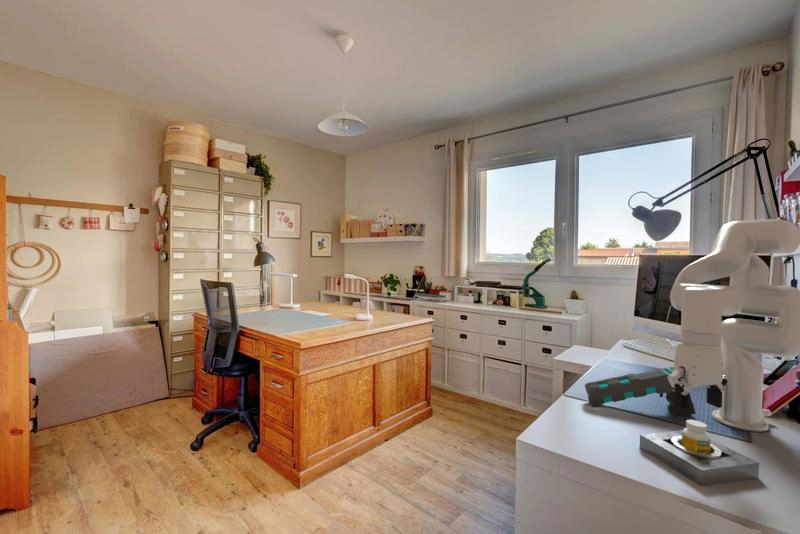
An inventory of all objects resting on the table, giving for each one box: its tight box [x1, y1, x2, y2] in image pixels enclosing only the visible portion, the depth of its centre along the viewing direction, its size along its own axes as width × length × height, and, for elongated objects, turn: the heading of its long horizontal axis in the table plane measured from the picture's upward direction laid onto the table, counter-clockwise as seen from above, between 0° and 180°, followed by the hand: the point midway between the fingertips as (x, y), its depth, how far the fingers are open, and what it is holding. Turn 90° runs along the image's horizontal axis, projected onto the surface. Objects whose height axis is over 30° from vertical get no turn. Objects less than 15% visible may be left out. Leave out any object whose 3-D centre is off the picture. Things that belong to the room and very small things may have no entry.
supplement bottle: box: [682, 419, 711, 454], centre depth 89 cm, size 5×5×10 cm
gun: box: [584, 366, 697, 417], centre depth 119 cm, size 7×29×15 cm, turn 77°
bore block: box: [639, 429, 760, 487], centre depth 89 cm, size 16×16×4 cm
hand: (697, 407), depth 89 cm, fingers open, 9 cm apart
